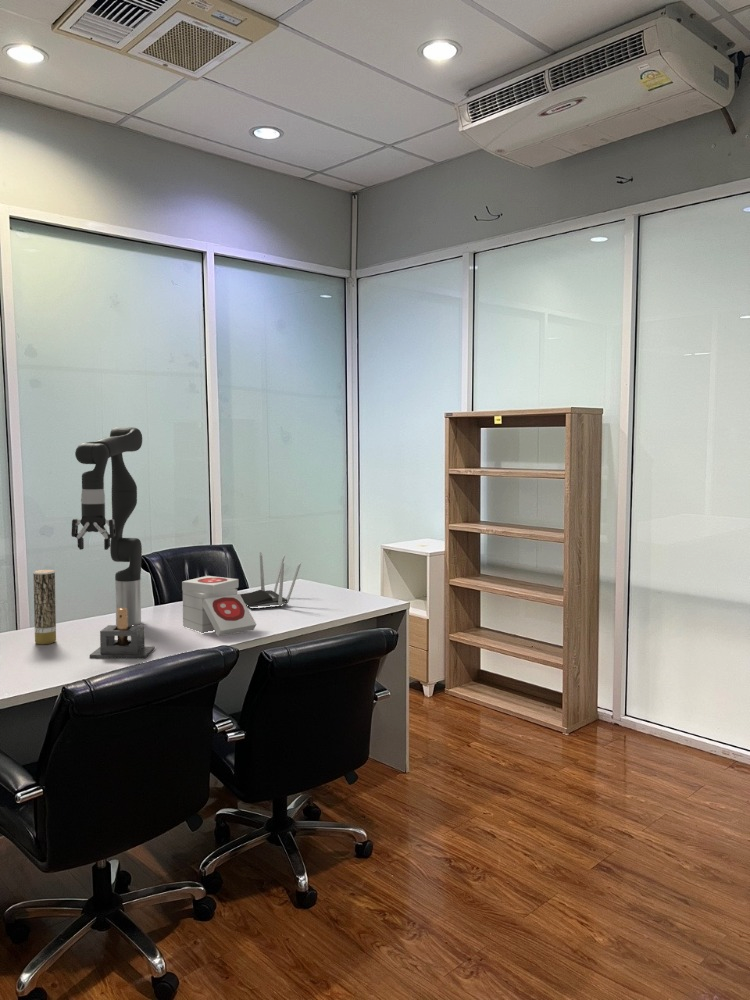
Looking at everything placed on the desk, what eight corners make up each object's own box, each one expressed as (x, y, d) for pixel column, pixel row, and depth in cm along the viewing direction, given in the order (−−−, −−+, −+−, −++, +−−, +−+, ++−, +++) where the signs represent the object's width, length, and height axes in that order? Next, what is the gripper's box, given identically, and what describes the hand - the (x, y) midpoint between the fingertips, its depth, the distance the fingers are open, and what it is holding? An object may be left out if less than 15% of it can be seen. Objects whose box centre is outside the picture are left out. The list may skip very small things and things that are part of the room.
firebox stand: (101, 648, 259) (101, 624, 258) (154, 649, 259) (154, 624, 258) (89, 658, 248) (89, 632, 247) (145, 658, 248) (145, 632, 247)
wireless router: (232, 597, 346) (232, 553, 344) (281, 594, 355) (281, 551, 354) (252, 613, 315) (252, 565, 314) (305, 608, 325) (306, 562, 323)
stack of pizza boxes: (216, 642, 269) (216, 591, 268) (175, 626, 291) (175, 579, 290) (262, 633, 282) (262, 585, 280) (219, 619, 304) (219, 574, 303)
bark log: (50, 638, 271) (48, 569, 269) (59, 642, 267) (58, 571, 265) (31, 642, 266) (29, 571, 264) (40, 646, 261) (39, 573, 260)
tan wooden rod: (119, 649, 255) (118, 607, 254) (129, 649, 255) (128, 607, 254) (116, 652, 252) (115, 610, 250) (126, 652, 252) (125, 610, 251)
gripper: (117, 501, 264) (118, 548, 266) (76, 501, 264) (77, 547, 265) (110, 503, 257) (111, 551, 258) (67, 502, 257) (68, 550, 258)
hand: (93, 549), depth 262 cm, fingers open, 8 cm apart
